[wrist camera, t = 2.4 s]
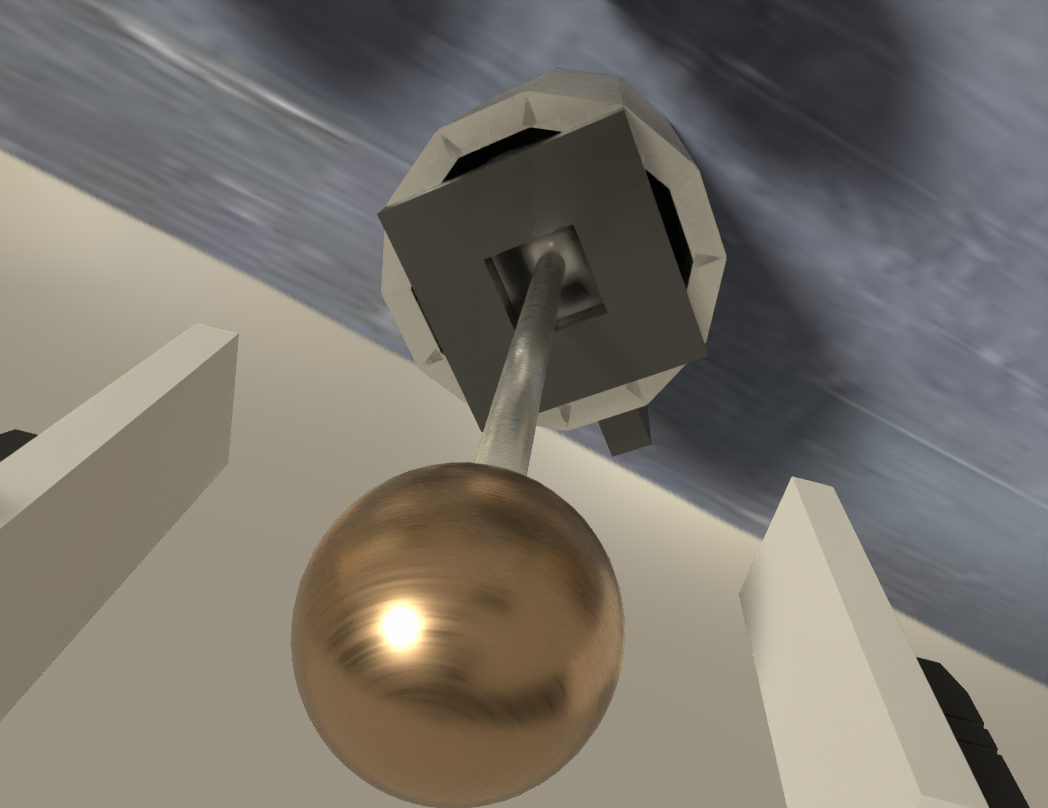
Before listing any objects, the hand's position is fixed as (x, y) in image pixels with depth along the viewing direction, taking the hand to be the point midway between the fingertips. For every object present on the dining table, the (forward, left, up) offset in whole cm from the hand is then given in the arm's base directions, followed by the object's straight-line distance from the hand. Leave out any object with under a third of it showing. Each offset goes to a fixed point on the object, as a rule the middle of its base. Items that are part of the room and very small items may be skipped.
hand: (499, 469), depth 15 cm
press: (0, +1, -29) cm, 29 cm away
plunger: (0, 0, -15) cm, 15 cm away
